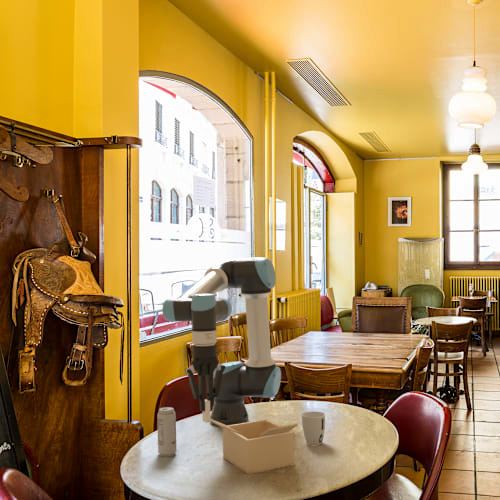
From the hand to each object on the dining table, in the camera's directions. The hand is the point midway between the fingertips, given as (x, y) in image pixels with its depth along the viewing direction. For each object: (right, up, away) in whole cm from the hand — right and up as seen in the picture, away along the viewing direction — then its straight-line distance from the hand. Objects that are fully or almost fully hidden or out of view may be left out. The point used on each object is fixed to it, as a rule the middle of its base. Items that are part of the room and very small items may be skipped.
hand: (206, 421), depth 184 cm
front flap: (+22, -1, -4) cm, 22 cm away
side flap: (+5, -2, +3) cm, 6 cm away
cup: (+35, -14, +22) cm, 44 cm away
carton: (+16, -14, +5) cm, 22 cm away
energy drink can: (-14, -15, +15) cm, 25 cm away
